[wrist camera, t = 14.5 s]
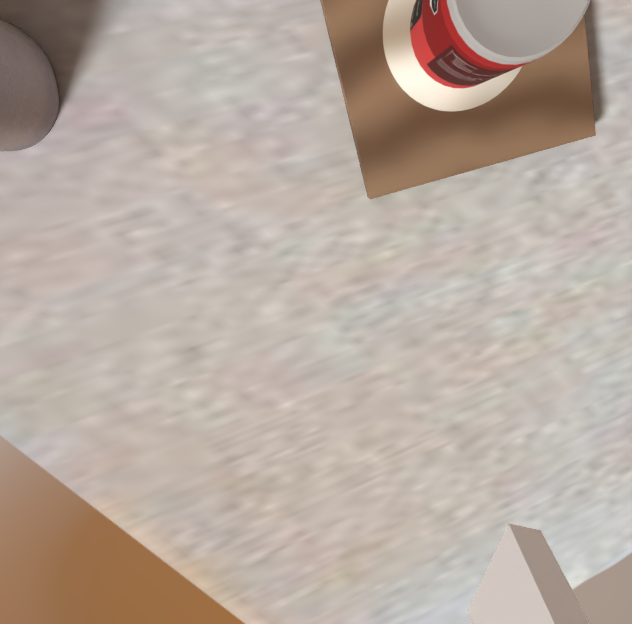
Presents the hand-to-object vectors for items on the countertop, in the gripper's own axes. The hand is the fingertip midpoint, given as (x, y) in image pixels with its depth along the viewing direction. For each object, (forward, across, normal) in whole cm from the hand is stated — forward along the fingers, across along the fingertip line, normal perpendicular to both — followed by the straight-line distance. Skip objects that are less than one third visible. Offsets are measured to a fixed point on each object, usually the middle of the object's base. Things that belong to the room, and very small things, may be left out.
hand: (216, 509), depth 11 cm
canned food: (+32, +8, +18) cm, 37 cm away
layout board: (+34, +8, +18) cm, 39 cm away
